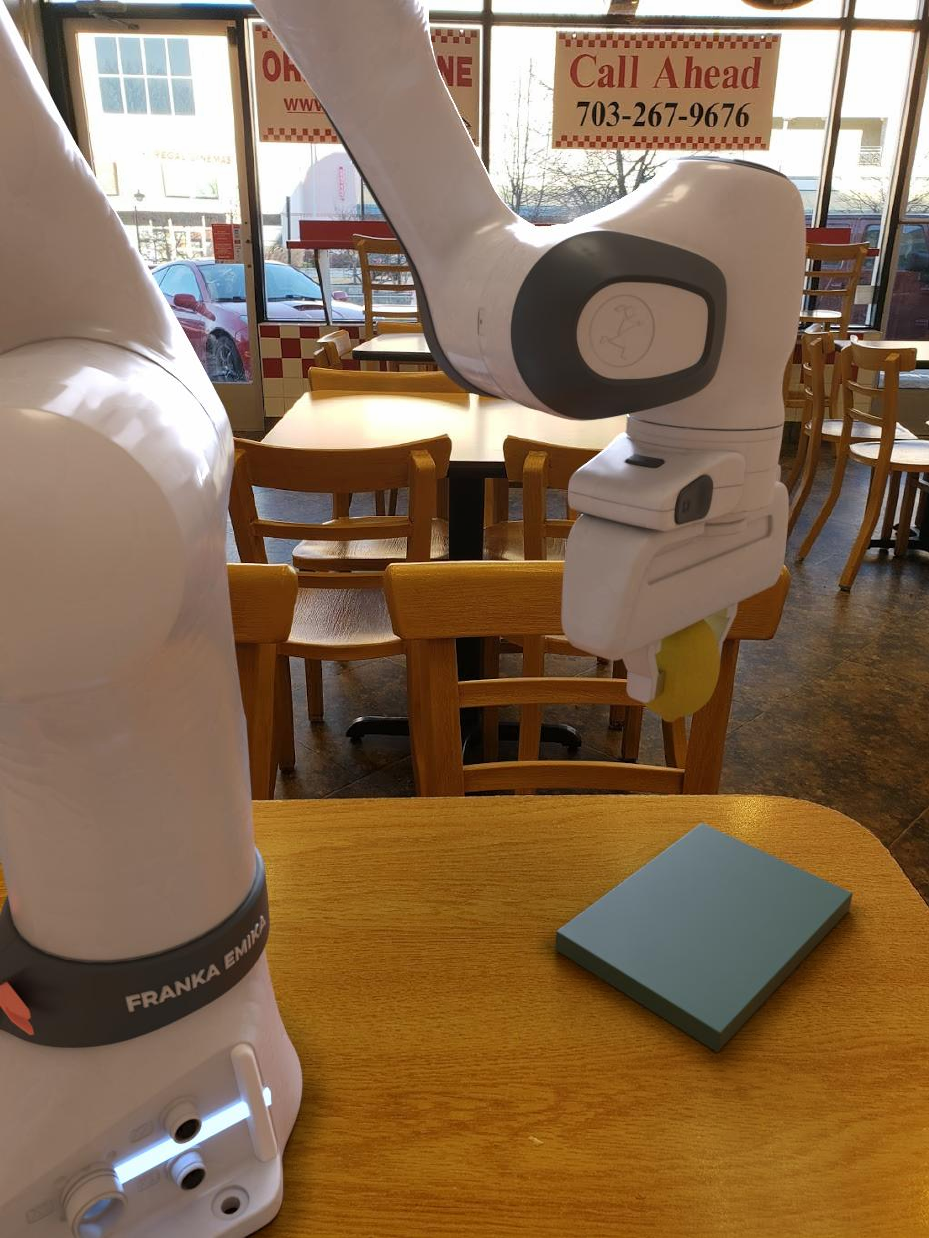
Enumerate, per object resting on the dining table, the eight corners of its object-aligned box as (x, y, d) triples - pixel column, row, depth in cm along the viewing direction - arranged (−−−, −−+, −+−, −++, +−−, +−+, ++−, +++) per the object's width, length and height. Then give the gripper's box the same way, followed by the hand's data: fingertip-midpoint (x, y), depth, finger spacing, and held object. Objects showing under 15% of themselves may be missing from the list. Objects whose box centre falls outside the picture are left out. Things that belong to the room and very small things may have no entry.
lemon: (708, 747, 58) (724, 627, 55) (619, 732, 60) (629, 615, 57) (715, 709, 63) (730, 597, 60) (632, 697, 65) (643, 587, 62)
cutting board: (717, 1053, 54) (720, 1033, 53) (554, 949, 61) (555, 931, 61) (849, 910, 66) (853, 892, 65) (699, 838, 74) (701, 822, 73)
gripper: (737, 438, 64) (713, 626, 69) (548, 483, 50) (535, 714, 55) (826, 452, 60) (794, 651, 65) (648, 506, 46) (624, 752, 51)
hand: (673, 681), depth 60 cm, fingers closed on lemon, 5 cm apart
